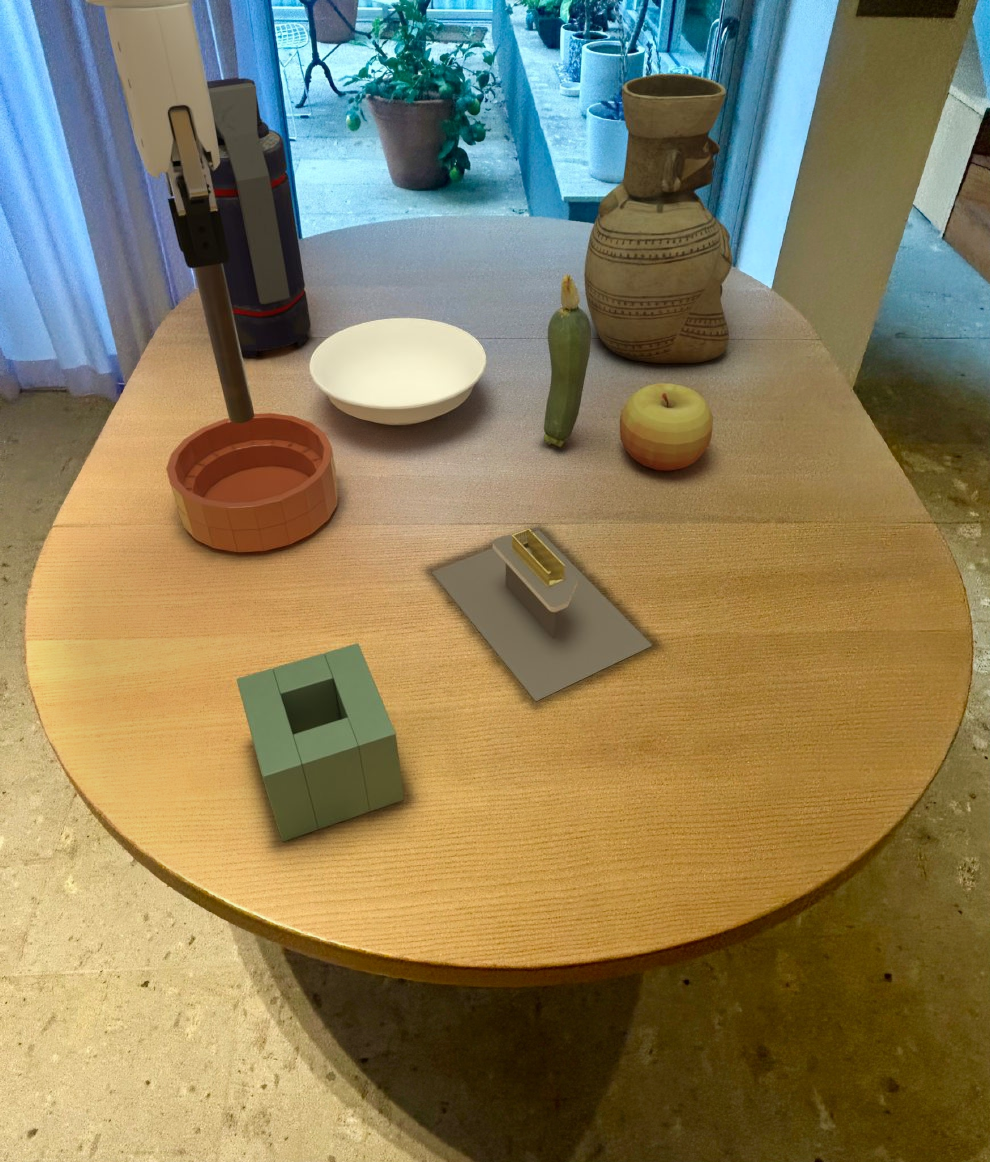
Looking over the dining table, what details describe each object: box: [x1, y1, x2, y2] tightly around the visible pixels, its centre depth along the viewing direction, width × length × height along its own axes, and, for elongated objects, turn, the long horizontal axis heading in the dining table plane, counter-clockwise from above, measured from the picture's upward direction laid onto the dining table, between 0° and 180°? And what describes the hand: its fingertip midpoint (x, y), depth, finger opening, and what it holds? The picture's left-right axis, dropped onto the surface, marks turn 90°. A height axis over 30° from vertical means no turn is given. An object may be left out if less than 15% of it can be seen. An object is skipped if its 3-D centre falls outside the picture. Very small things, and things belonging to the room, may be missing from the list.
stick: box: [179, 179, 255, 423], centre depth 71 cm, size 2×2×20 cm
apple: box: [619, 382, 714, 471], centre depth 94 cm, size 10×10×8 cm
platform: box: [431, 528, 653, 702], centre depth 77 cm, size 12×18×7 cm, turn 31°
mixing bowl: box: [165, 412, 339, 553], centre depth 88 cm, size 16×16×6 cm
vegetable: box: [543, 274, 592, 448], centre depth 91 cm, size 4×4×20 cm
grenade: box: [207, 77, 311, 358], centre depth 105 cm, size 14×12×30 cm
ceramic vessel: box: [583, 73, 733, 364], centre depth 106 cm, size 19×21×30 cm
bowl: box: [308, 317, 488, 426], centre depth 101 cm, size 20×20×6 cm
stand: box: [236, 642, 404, 842], centre depth 64 cm, size 9×9×8 cm
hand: (204, 254), depth 68 cm, fingers closed on stick, 2 cm apart
